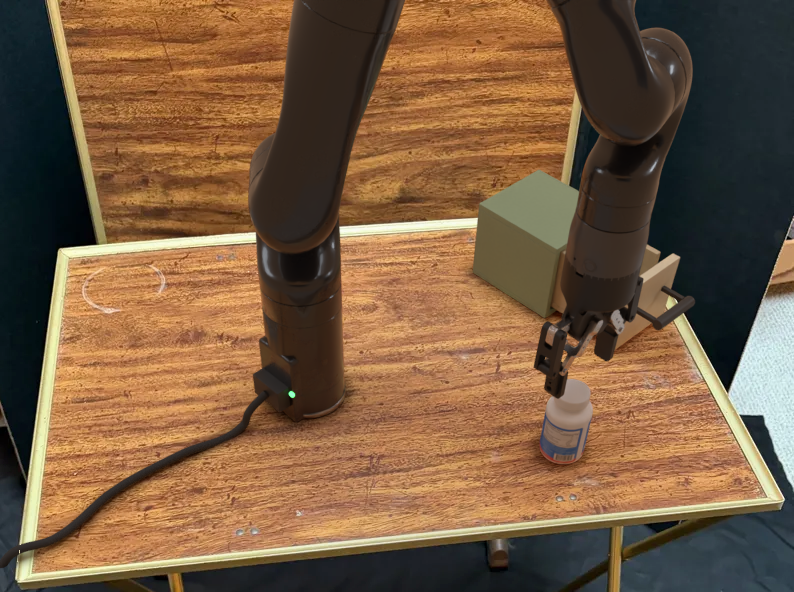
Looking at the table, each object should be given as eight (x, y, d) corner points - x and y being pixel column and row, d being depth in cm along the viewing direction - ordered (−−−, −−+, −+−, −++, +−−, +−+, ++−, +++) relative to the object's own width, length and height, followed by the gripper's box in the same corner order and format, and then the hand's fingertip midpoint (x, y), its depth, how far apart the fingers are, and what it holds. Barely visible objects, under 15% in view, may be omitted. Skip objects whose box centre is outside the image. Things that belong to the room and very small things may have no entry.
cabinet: (601, 280, 137) (616, 211, 128) (544, 318, 132) (557, 249, 123) (528, 237, 143) (539, 169, 134) (472, 272, 138) (479, 203, 129)
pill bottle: (558, 426, 120) (571, 366, 112) (592, 450, 117) (608, 390, 109) (528, 448, 117) (539, 389, 109) (563, 473, 115) (576, 414, 107)
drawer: (692, 332, 129) (711, 274, 122) (642, 370, 125) (659, 312, 117) (591, 272, 137) (603, 214, 129) (540, 306, 132) (550, 248, 125)
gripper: (619, 206, 100) (592, 329, 113) (527, 265, 94) (510, 389, 107) (679, 238, 96) (644, 361, 109) (588, 302, 90) (563, 424, 103)
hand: (578, 375), depth 108 cm, fingers open, 8 cm apart
